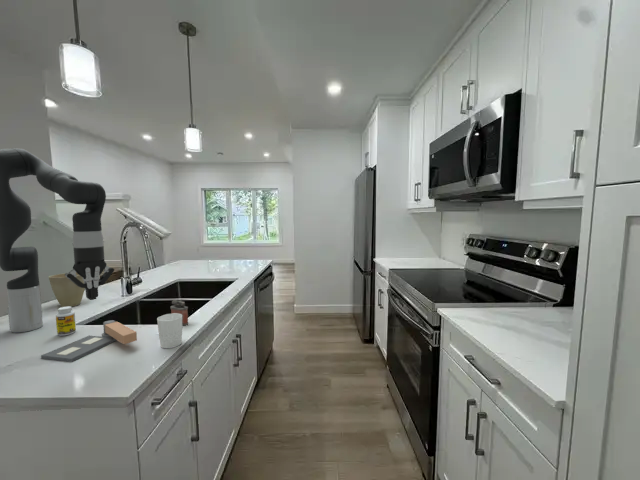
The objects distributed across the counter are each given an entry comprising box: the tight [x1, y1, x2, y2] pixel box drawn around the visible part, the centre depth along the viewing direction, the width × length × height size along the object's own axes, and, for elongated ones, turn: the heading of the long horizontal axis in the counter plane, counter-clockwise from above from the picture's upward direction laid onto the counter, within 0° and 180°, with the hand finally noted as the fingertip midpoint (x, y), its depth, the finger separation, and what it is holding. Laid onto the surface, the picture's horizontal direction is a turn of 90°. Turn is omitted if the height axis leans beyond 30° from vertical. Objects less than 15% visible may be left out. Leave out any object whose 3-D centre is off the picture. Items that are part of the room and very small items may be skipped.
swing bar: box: [102, 319, 138, 345], centre depth 106 cm, size 21×4×4 cm, turn 53°
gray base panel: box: [40, 332, 117, 363], centre depth 104 cm, size 12×22×1 cm, turn 169°
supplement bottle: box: [55, 306, 77, 337], centre depth 114 cm, size 6×6×10 cm
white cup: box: [156, 313, 183, 349], centre depth 104 cm, size 8×8×10 cm
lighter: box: [170, 300, 189, 327], centre depth 123 cm, size 8×3×10 cm, turn 71°
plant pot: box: [48, 272, 86, 308], centre depth 150 cm, size 15×15×16 cm
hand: (92, 299), depth 94 cm, fingers closed
